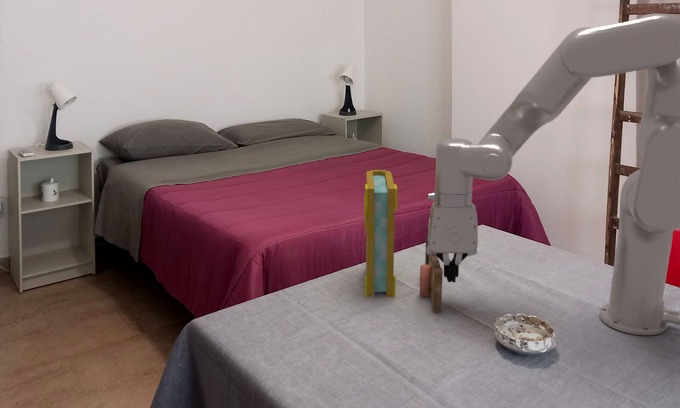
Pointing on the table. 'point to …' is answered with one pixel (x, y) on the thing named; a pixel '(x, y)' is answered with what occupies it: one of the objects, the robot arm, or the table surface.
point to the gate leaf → (436, 283)
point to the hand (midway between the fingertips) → (450, 279)
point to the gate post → (426, 254)
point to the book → (380, 232)
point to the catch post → (425, 281)
